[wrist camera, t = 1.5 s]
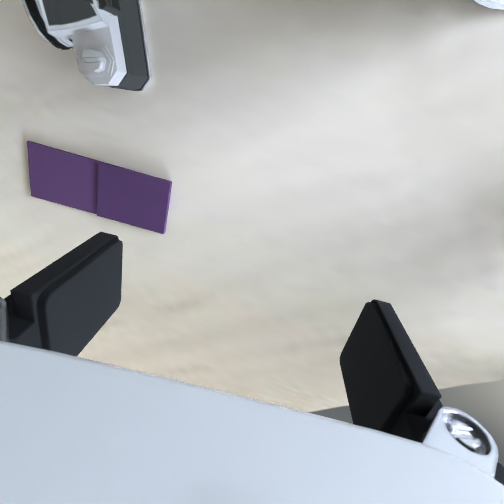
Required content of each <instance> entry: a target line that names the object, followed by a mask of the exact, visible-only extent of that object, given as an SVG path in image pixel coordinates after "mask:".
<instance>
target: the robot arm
mask: <svg viewBox="0 0 504 504" xmlns="http://www.w3.org/2000/svg"><path fill="white" fill-rule="evenodd" d="M474 1H475V2H477V3H478V4H481V5H483V6H486V7H488V8H492V9H501V10H504V0H474ZM122 248H123V244H122V241H120V240H119V239H118V236H116V235H112V234H108V233H104V232H99V233H98V234H96V235H95V236H93V237H91V238H90V239H88V240H87V241H85V242H84V243H82V244H81V245H79V246H78V247H76V248H75V249H73V250H72V251H70V252H69V253H67V254H65V255H64V256H62V257H61V258H59V259H58V260H56V261H55V262H53V263H52V264H50V265H49V266H47V267H46V268H44V269H43V270H41V271H39V272H38V273H36V274H35V275H33V276H32V277H30V278H29V279H27V280H26V281H24V282H23V283H21V284H20V285H18V286H17V287H15V288H13V289H12V290H10V291H11V295H9V296H8V297H6V298H5V299H2V298H1V297H0V504H504V467H503V466H502V465H501V464H500V463H498V462H497V460H498V448H497V445H496V443H495V441H494V439H493V438H492V437H491V435H490V434H489V432H488V431H487V430H486V429H485V428H484V427H483V426H482V425H481V424H480V423H479V422H478V421H476V420H475V419H474V418H473V417H471V416H470V415H468V414H466V413H465V412H463V411H461V410H458V409H456V408H453V407H443V406H442V404H441V402H440V400H439V399H440V398H441V394H440V393H439V391H438V389H437V387H436V385H435V383H434V382H433V380H432V378H431V376H430V374H429V373H428V371H427V369H426V367H425V365H424V364H423V362H422V360H421V358H420V356H419V354H418V353H417V351H416V349H415V347H414V345H413V344H412V342H411V340H410V338H409V336H408V335H407V333H406V331H405V329H404V327H403V325H402V324H401V322H400V320H399V318H398V316H397V315H396V313H395V311H394V309H393V307H392V306H391V304H390V303H386V302H382V301H378V300H372V301H371V302H367V303H366V304H365V306H364V308H363V310H362V312H361V314H360V316H359V318H358V320H357V322H356V324H355V326H354V328H353V330H352V332H351V334H350V336H349V338H348V340H347V342H346V344H345V347H344V349H343V351H342V353H341V356H340V366H341V370H342V375H343V379H344V384H345V388H346V393H347V397H348V402H349V406H350V411H351V415H352V420H353V424H350V423H346V422H343V421H339V420H335V419H331V418H327V417H323V416H318V415H315V414H311V413H307V412H303V411H299V410H295V409H291V408H287V407H283V406H279V405H275V404H271V403H267V402H263V401H259V400H255V399H250V398H246V397H242V396H238V395H234V394H230V393H226V392H222V391H218V390H214V389H210V388H205V387H201V386H197V385H193V384H189V383H185V382H181V381H177V380H173V379H168V378H164V377H160V376H156V375H152V374H147V373H143V372H139V371H135V370H131V369H126V368H122V367H118V366H114V365H110V364H105V363H101V362H97V361H93V360H89V359H84V358H80V357H77V356H78V354H79V353H80V352H81V351H82V350H83V348H84V347H85V346H86V345H87V344H88V343H89V341H90V340H91V339H92V338H93V337H94V335H95V334H96V333H97V332H98V331H99V330H100V328H101V327H102V326H103V325H104V324H105V322H106V321H107V320H108V319H109V318H110V317H111V315H112V314H113V313H114V312H115V311H116V309H117V308H118V307H119V304H120V301H121V281H122Z"/></svg>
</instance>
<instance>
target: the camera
mask: <svg viewBox="0 0 504 504" xmlns="http://www.w3.org/2000/svg"><path fill="white" fill-rule="evenodd" d="M22 2H23V5H24V8H25V10H26V13H27V15H28V17H29V19H30V21H31V22H32V24H33V26H34V27H35V29H36V30H37V32H38V33H39V34H40V35H41V36H42V37H43V38H44V39H45V40H46V41H47V42H49V43H51V44H52V45H54V46H55V47H57V48H61V49H62V50H67V49H70V48H72V47H74V50H75V55H76V59H77V63H78V68H79V71H80V72H81V73H82V74H83V75H84V76H85V77H86V78H87V79H88V80H89V81H90V82H91V83H92V84H93V85H99V86H106V87H112V88H119V89H125V90H132V91H142V90H144V88H145V87H146V86H147V84H148V83H149V81H150V80H151V72H150V65H149V58H148V51H147V44H146V37H145V30H144V23H143V16H142V9H141V2H140V0H22Z"/></svg>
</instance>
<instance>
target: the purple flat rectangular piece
mask: <svg viewBox="0 0 504 504" xmlns="http://www.w3.org/2000/svg"><path fill="white" fill-rule="evenodd" d="M27 148H28V162H29V175H30V188H31V196H33V197H37V198H40V199H44V200H47V201H51V202H54V203H58V204H62V205H65V206H69V207H72V208H76V209H80V210H83V211H87V212H90V213H94V214H97V216H101V217H104V218H108V219H111V220H115V221H119V222H122V223H126V224H129V225H133V226H137V227H140V228H144V229H147V230H151V231H154V232H158V233H162V234H164V233H165V229H166V221H167V214H168V207H169V200H170V193H171V186H172V182H171V181H167V180H164V179H160V178H157V177H153V176H150V175H146V174H143V173H139V172H136V171H132V170H129V169H125V168H122V167H118V166H115V165H111V164H108V163H104V162H101V161H97V160H94V159H90V158H87V157H83V156H80V155H76V154H73V153H69V152H65V151H62V150H58V149H55V148H51V147H48V146H44V145H41V144H37V143H34V142H30V141H27Z"/></svg>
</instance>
